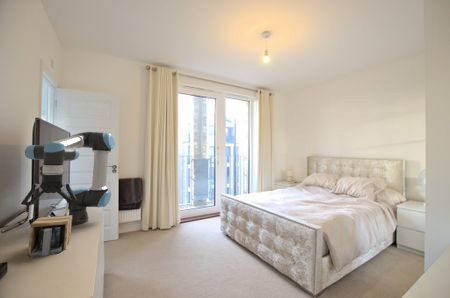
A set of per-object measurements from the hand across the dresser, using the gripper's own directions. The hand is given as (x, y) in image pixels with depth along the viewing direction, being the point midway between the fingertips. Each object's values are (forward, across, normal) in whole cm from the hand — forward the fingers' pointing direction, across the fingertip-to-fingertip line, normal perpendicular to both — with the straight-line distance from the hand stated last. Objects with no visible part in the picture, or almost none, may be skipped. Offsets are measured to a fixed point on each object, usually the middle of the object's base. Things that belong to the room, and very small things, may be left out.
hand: (49, 217), depth 95 cm
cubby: (+18, 0, +8) cm, 19 cm away
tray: (+18, 0, +6) cm, 19 cm away
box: (+17, 0, +7) cm, 18 cm away
